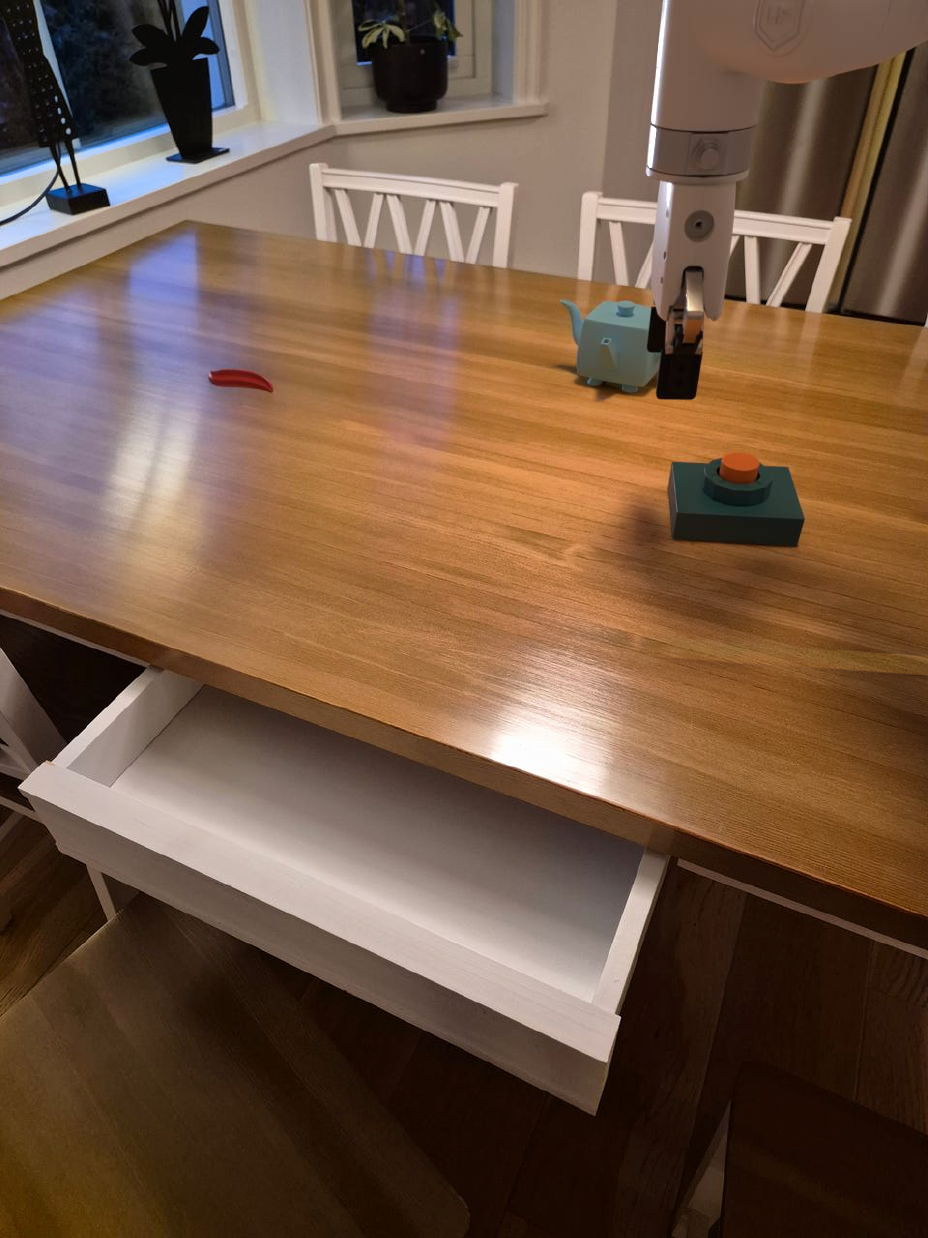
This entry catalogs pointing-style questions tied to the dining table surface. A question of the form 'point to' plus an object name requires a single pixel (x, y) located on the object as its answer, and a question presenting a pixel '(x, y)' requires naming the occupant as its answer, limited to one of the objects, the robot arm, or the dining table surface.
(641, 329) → the teapot
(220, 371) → the cayenne pepper
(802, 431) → the dining table surface
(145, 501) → the dining table surface
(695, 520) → the teal box orange button
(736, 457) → the orange round cap
